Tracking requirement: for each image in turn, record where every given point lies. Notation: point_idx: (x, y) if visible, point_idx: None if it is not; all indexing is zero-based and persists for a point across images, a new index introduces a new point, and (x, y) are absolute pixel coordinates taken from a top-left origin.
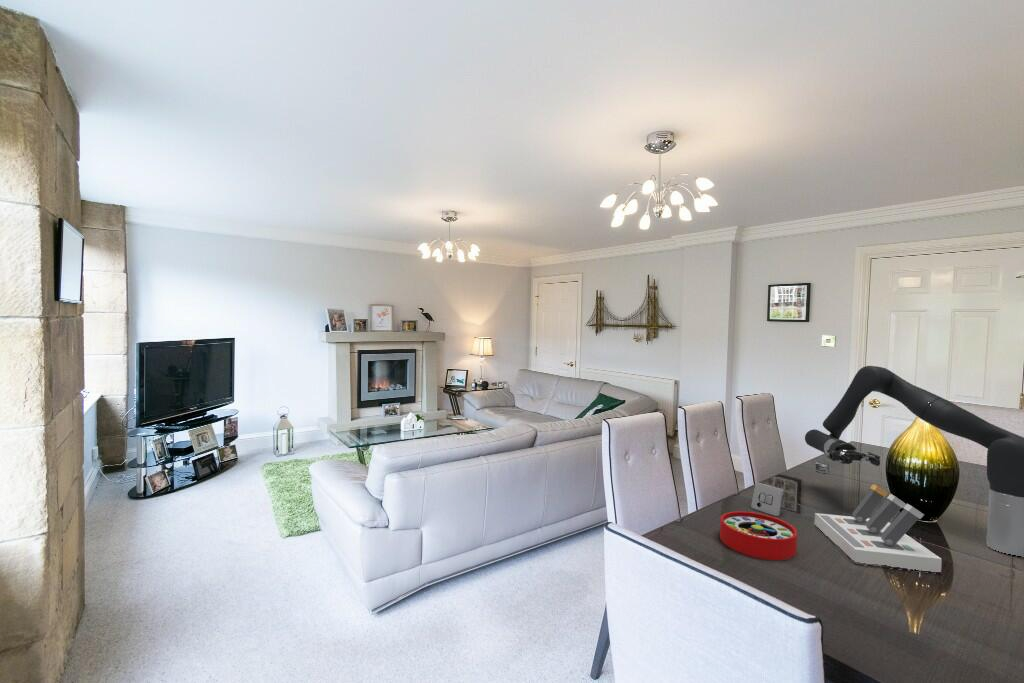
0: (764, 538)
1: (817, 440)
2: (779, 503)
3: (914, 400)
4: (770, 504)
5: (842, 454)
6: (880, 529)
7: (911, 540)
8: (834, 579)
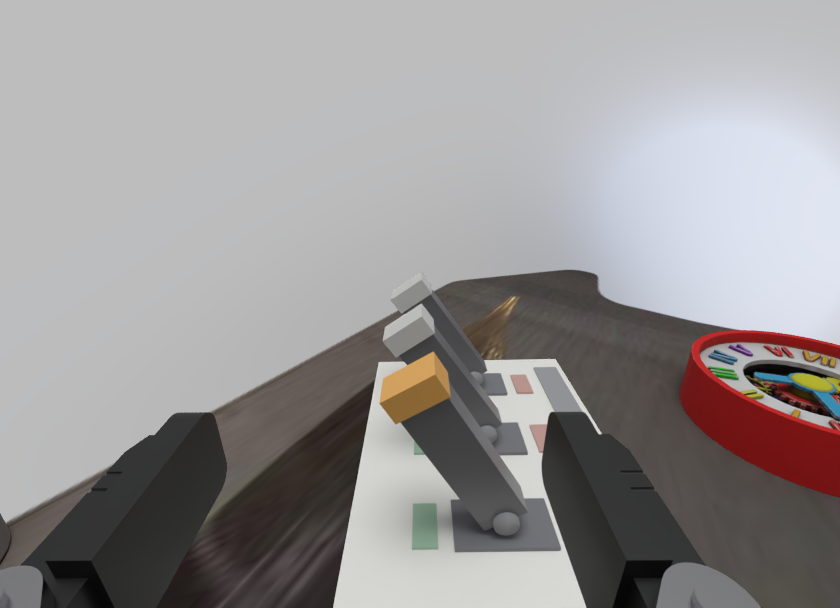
0: (748, 331)
1: None
2: None
3: None
4: None
5: (676, 594)
6: None
7: (378, 424)
8: (594, 345)
